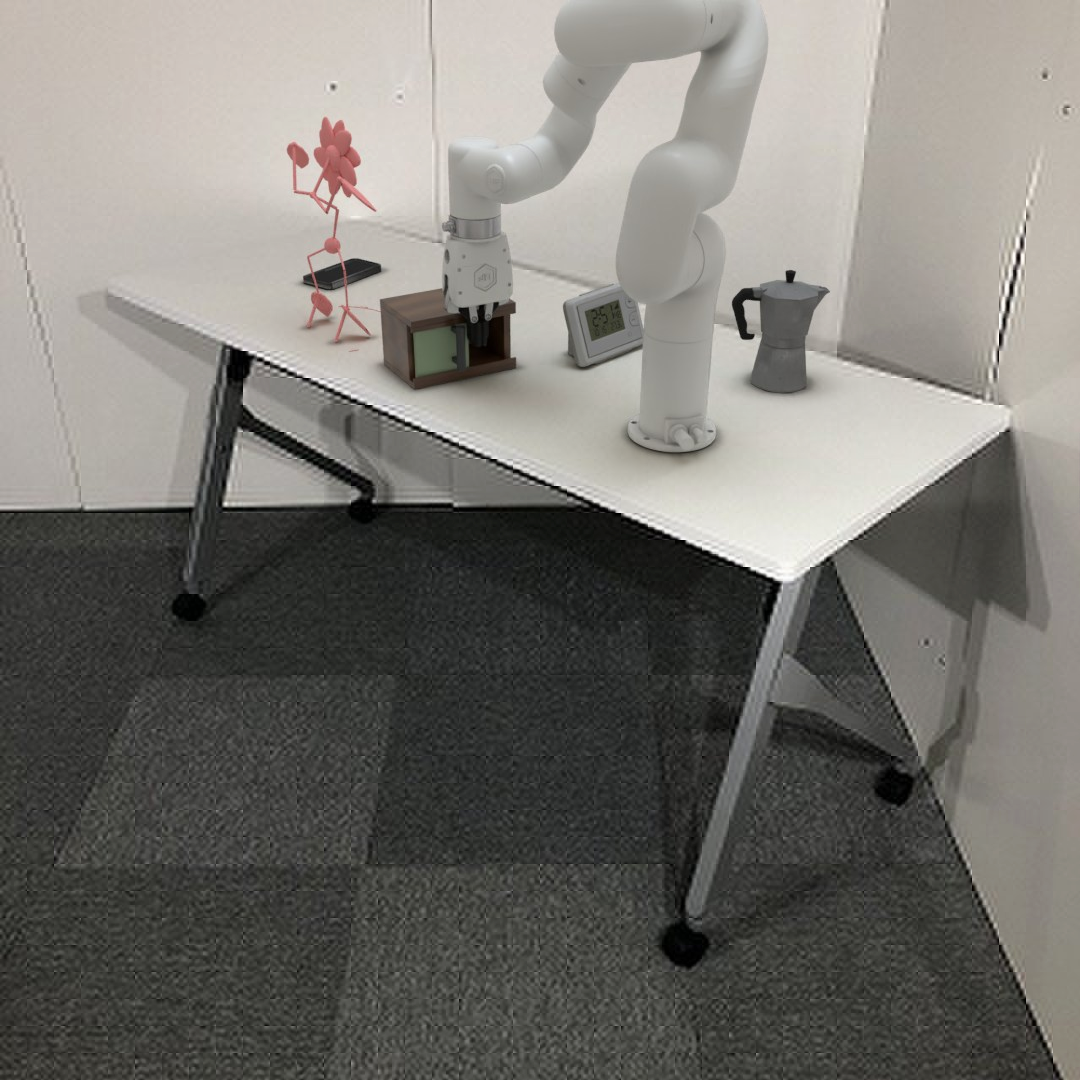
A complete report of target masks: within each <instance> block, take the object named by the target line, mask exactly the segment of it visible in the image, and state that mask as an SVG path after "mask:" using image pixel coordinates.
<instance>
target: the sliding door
mask: <svg viewBox="0 0 1080 1080" xmlns="http://www.w3.org/2000/svg"><path fill="white" fill-rule="evenodd" d="M413 338H414V357H415V376H416V378H417V377H422V376H427V375H432V374H436V373H441V372H446V371H451V370H455V369H457V371H460V372H462V371H466V367H469V345H468V338H467V323H462V324H457V325H452V326H447V327H442V328H436V329H431V330H426V331H421V332H416V333H413Z"/></svg>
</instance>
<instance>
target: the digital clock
mask: <svg viewBox="0 0 1080 1080" xmlns="http://www.w3.org/2000/svg"><path fill="white" fill-rule="evenodd" d="M562 311H563V315H564V320H565V324H566V329H567V335H568V336H567V354H568V355H570V356H572V357H573V358H574V362H575V364H576V365H577V366H578V367H580V368H585V367H588V366H590V365H591V366H592V365H598V364H600V363H603V362H605V361H608V360H610V359H613V358H616V357H618V356H621V355H624V354H626V353H628V352H631V351H632V349H634V348H637V347H639V346H643V334H644V323H643V320H642V316H641V311H640V307H639V302H637V301H634V300H633V299H631V298H630V297H629V296H628V295H627V294H626V293H625V292H624V290H623V289H622V287H621V285H620V283H619V282H617V283H611V284H608V285H604V286H602V287H598V288H596V289H592V290H590V291H587V292H584V293H580V294H579V295H578V296H576V297H572V298H569V299H567V300H565V301H564V302H563V304H562Z"/></svg>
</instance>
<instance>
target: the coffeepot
mask: <svg viewBox="0 0 1080 1080" xmlns="http://www.w3.org/2000/svg"><path fill="white" fill-rule="evenodd" d="M784 272H785V279H776V280H772V281H767V282H763V283H760V284H759V286H753V287H744V288H741V289H740V290H739V291H738V292H737V294H735V296H734V297H733V298H732V299H731V308H732V311H733V315H734V319H735V322H736V326H737V330H738V333H739V337H740V339H741V340H743V341H751V340H754V338H755V336H756V334H755V333H749V332H748V322H747V319H746V314H745V313H746V311H745V307H744V302H746V301H753V302H759V316H760V333H761V338H760V340H759V341H760V342H759V345H758V348H757V353H756V356H755V360H754V364H753V367H752V368H753V369H752V370H751V377H750V383H751V384H752V385H753V386H754V387H756V388H758V389H760V390H763V391H767V392H771V393H772V392H773V393H779V394H780V393H781V394H782V393H785V394H788V393H794V392H798V391H800V390H803V389H805V388H807V359H806V358H807V355H806V337H807V336H808V335H809V331H810V327H811V324H812V320H813V316H814V312H815V310H816V309H817V307H818V306H819V305H820V303H821V302H822V301H823V299H824V298H825V297H826V295H827V294H830V293H831V290H830V289H828V288H827V287H826V286H822V285H815V284H810V283H806V282H804V281H802V280H801V281H800V280H795V277H796V273H797V271H796V270H793V269H788V270H785V271H784Z"/></svg>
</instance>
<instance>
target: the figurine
mask: <svg viewBox="0 0 1080 1080" xmlns="http://www.w3.org/2000/svg"><path fill="white" fill-rule="evenodd" d="M345 127H346V126H345V122H344V121H343V119H339V120H338V121H336V122H335V124H334V126H332V124H331V122H330V119H329V118H328V116H324V117H323V118H322V120H321V128H320V130H319V133H318V137H319V143H320V146H317V147H315V148H314V149H313V157H314V159H315V161H316V163H317V164H318V165H319V166H320V168H322V170H321V173H320V175H319V177H318V179H317V182H316V183H315V186H314V188H313V190H312V191H305V190H299V189H298V188H297V187H298V185H297V167H299V168H300V169H304V168H306V167H307V166H308V165H309V163H310V157H309V154H308V153H307V151H306V150H305V149H304V148H303V147H302V146H300V145H299V144H297V142H296V141H292V142H290V143H288V145H287V147H286V154H287V155H288V157H289V158H290V160H291V161H292V187H293V188H292V189H293V194H296V195H297V194H298V195H305V196H309V197H310V198H311V199H313V200H314V201H315V203H317V205H318V206H319V207H320V208H321V210H322V211H323V212H324V213H325V214H326V215H328V214H329V212H330V210H331V209H333V210H335V214H334V222H333V223H334V224H333V233H332V235H333V236H331V237H328V238H326V240H325V241H324V243H323V248H321V249H319V250H317V251H314V252H312V253H310V254H308V255H307V256H306V258H307V264H308V265H309V269H310V273H312V277H313V280H314V283H315V286H314V287H315V290H316V291H313V292H311V295H310V301H311V304H312V308H311V309H312V310H311V312H310V315H309V318H308V322H307V325H306V327H307V328H311V325H312V322H313V319H314V316H315V312H316V310H317V311H319V312H320V313H321V314H322V315H324V316H325V317H326V318H329V317H330V316H331V314H332V312H333V304H332V302H331V301H330V300H329V298H328V297H327V296H326V295H325V294H323V293H322V292H320V290H319V287H318V286H317V283H316V279H315V276H314V273H313V272H314V270H313V269H314V268H313V266H312V263H311V257H313V256H315V255H318V254H319V253H322V252H323V251H324V252H325V251H326V252H327V253H328V254H331V255H335V254H338V257H339V260H340V262H341V263H342V267H343V270H344V283H345V285H344V295H345V305H343V304H341V305H338V308H341V309H342V310H343V313H342V316H341V319H340V322H339V324H338V328H337V331H336V334H335V337H334V340H333V342H334V343H338V341H339V338H340V335H341V333H342V329H343V326H344V324H345V320H346V318H347V317H346V316H349V318H350V319H351V320H352V321H353V322H354V323H355V324H356V325H357V326H358V327H359V328H360V329H362V331H363V332H365V333H366V334H367V335H368V336H369V337H371V336H372V334H371V333H370V332H369V330H368V328H367V327H365V325H364V324H363V323H362V322H361V320H359V318H358V317H356V316H355V314H354V313H353V312H352V311H350V310H351V308H352V306H349V296H348V284H347V280H346V271H345V266H344V263H343V261H344V260H343V257H342V253H341V241H340V240H339V239H338V238H337V237H336V234H337V228H338V220H339V216H340V215H339V213H340V209H339V208H338V206H336V205H334V204H333V201H334V200H335V196H336V195H337V194H338V192H340V190H341V189H342V192H343V194H344V196H345V197H346V198H348V199H349V198H351V196H352V195H353V196H354V197H355V198H356V199H357V200H358V201H360V202H361V203H362V204H363V205H365V206H366V207H367V208H369V209H370V210H371V211H373V212H374V213H376V212H377V209H376V208H375V207H374V205H373V204H372V203H371V202H370V201H369V200H368V198H367V197H365V196H364V194H362V192H361V191H359V189H357V188H356V185H357V184H358V183H357V181H358V178H357V174H356V170H355V168H358V167H359V166H360V165H361V162H362V160H361V159H362V158H361V156H360V154H359V153H358V151H357V150H356V149H355V147H353V146H351V145H352V140H353V137H352V134H351V132H350V131H349V130H346V128H345ZM323 179H324V180H325V181H327V184H328V191H329V192H328V193H330V195H331V196H330V198H329V200H328V201H327V200H325V199H323V198H321V197H319V196H318V195H317V192H318V190H319V187H320V185H321V183H322V181H323ZM322 203H323V204H325V205H326V207H325V205H323V204H322ZM353 308H355V309H356V308H357V309H364V310H370V311H375V312H378V313H381V310H378V309H373V308H369V307H368V306H365V307H363V306H361V305H360V306H353ZM357 351H359V349H354V350H353V349H352V350H349V351H348V352H349V353H350V352H357Z"/></svg>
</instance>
